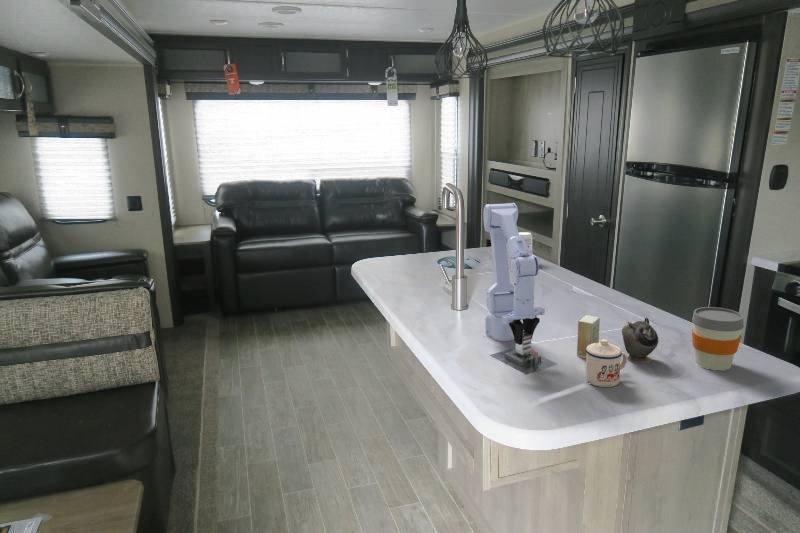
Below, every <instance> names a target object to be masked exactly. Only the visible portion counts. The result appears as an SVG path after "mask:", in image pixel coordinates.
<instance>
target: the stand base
mask: <svg viewBox="0 0 800 533" xmlns="http://www.w3.org/2000/svg"><path fill="white" fill-rule="evenodd" d="M515 349H516V347H515V346H514V347H512V348H509V349H505V350H502V351H499V352H495V353H492V354H489V356H490V357H491V358H493V359H496V360H497V361H500V362H501V363H503V364H505V365H507V366H509V367H511V368H512V369H515V370H516V371H518V372H520V373H522V374H524V375H528V374H531V373H535V372H538V371H542V370H544V369H547V368H551V367H553V366H556V365H558V363H557V362H555V361H552V360H550V359H548V358H546V357H544V356H542V355H540V354H539V352H537V351H534V350H530V351H531V353H529V354H525V355H521V354H519V353H517V352H516V351H515ZM522 357H524V358H522Z"/></svg>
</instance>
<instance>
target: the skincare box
mask: <svg viewBox="0 0 800 533" xmlns="http://www.w3.org/2000/svg"><path fill="white" fill-rule="evenodd" d="M600 321H601V317H599V316H594V315H589V314H586V315H584V316H582V317H581V318H580V319H579V320H577V342H576V343H577V345H576V346H577V347H576V357H578V358H579V357H580V358H582V359H586V354H587V352H586V348H587V346H588V345H590V344H593V343H598V342H600V341H599V340H600V326H601V325H600Z"/></svg>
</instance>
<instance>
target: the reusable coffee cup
mask: <svg viewBox="0 0 800 533" xmlns="http://www.w3.org/2000/svg"><path fill="white" fill-rule="evenodd" d="M691 322H692V326H693V327H692V329H691V337H692V347H693V348H694V363H695V362H696V363H697V364H698V365H700V366H701V368H702V367H704V368H703V369H705V368H708V369H707V370H709V369H712V370H711V371H716V370H724V371H727V370H726V369H728V370H730V369H731V368H730V367H732V364H733V361H734V356H735V354H736V353H737V352H738V349H739V345H740V343H741V342H740V341H741V339H742V335H741V333H742V329H744V315H743V314H742V313H741V312H738V311H736V310H733V309H729V308H724V307H714V306H704V307H703V306H702V307H698V308H694V310H693V315H692V318H691ZM696 363H695V364H696ZM697 364H696V365H697ZM698 365H697V366H698ZM700 366H699V367H700ZM729 368H730V369H729Z"/></svg>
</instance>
